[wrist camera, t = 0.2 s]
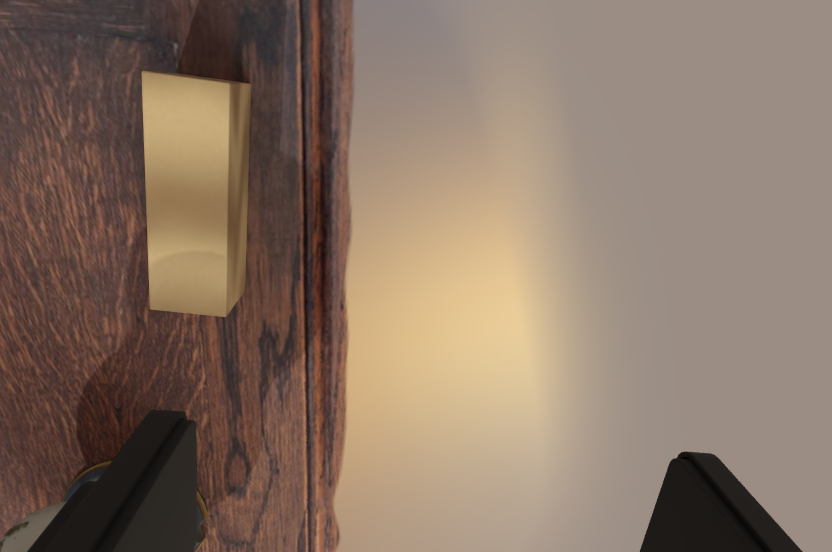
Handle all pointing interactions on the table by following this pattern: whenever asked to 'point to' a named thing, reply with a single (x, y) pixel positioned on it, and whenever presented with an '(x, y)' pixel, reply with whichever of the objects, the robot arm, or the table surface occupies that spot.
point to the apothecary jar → (30, 528)
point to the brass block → (196, 191)
